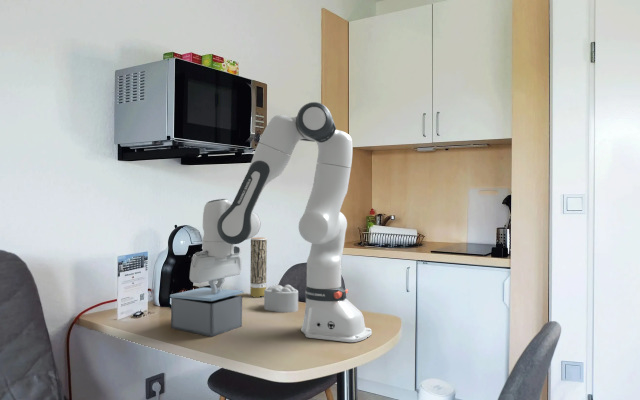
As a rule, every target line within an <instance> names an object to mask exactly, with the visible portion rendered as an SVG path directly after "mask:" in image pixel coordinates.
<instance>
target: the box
mask: <svg viewBox="0 0 640 400" xmlns="http://www.w3.org/2000/svg"><path fill="white" fill-rule="evenodd" d="M170 301H171V302H170V304H171V306H170V307H171V308H170V312H171V313H170V314H171V316H170V329H172V330H178V331H182V332H187V333H192V334H197V335H201V336H206V337H210V338H212V337H216V336H218V335H221V334H224V333H227V332H229V331H232V330H236V329H238V328H241V327H243V296H242V295H238V294H237V295H233V296H230V297H226V298H222V299H218V300H214V301H203V300H193V299H182V298H172V297H170Z"/></svg>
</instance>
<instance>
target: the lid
mask: <svg viewBox="0 0 640 400" xmlns="http://www.w3.org/2000/svg"><path fill="white" fill-rule="evenodd" d="M241 294H244V290H242V289H230V288H229V289H228V288H222V291H221V292H219V293H215V294H213V293H211V287H199V288H195V289H190V290H187V291H186V290H185V291H182V292H176V293H173V294H172V293H171V294H169V298H182V299H193V300H203V301H214V300H218V299H222V298H226V297H230V296H233V295H237V296H238V295H241Z"/></svg>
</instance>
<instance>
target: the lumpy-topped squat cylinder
mask: <svg viewBox="0 0 640 400" xmlns="http://www.w3.org/2000/svg"><path fill="white" fill-rule="evenodd" d="M263 301H264V302H263V308H264V310H266V311H268V312H269V311H270V312H276V313H292V312H293V313H294V312H297V311H299V290H298V289H296V288H295V287H293V286H292V285H290V284H285V285H284V286H282V285H280V284H275V285H271V286H268V287H267V288H266V289H265V290H264V298H263Z"/></svg>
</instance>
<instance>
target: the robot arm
mask: <svg viewBox="0 0 640 400" xmlns="http://www.w3.org/2000/svg"><path fill="white" fill-rule="evenodd" d="M299 141H305V142H311V143H312V142H314V143H316V145H317V149H318V153H317V158H316V159H317V160H316V166H315V172H314V177H313V183H312V188H311V191H310V195H309V197H308V199H307V203H306V205H305V206H306V207H305V210H304V212H303V214H302V216H301V217H300V220H299V222H298V232H299V235H300V236H301V238H302V239H303V240H304V241H306V242H308V243H310V245H311V246H310V250H309V255H308V258H307V260H306V285H305V287H304V288H305V290H304V299H305V308H304V309H305V310H304V315H303V316H304V317H303V321H302V325H301V328H300V331H301V332H302V333H303V334H304V335H305V337H306V338H310V339H319V340H327V341H337V342H343V343H356V342H360V341H364V340H366V339H367V337H368V338H369V337H370V336H371V335H372V334H373V331H372V329H371V328H370V327H366V324H365V318H364V315H363V312H362V311H361V310H359V309H358V308H357V307H356V306H355V305H354V304H353V303H352V302H350V300H349V299H347V294H348V293H349V292H348V291H349V289H344V288H343V285H342V261H343V252H344V247H345V239H346V232H347V229H348V220H347V218H346V216H345V214H344V213H343V212H341V209H342V206H343V203H344V200H345V198H346V196H347V193H348V190H349V182H350V176H351V170H352V162H353V150H354V149H353V148H354V147H353V138H352V137H351V135H349V134H348V133H347V132H345V131H343V130H341V129H340V130H339V129H337V126H336V124H335V121H334V118H333V115H332V113H331V111H330V109H329V108H328V107H327V106H326V105H325V104H323V103H321V102H316V101H313V102H308V103H306V104H304V105H302V107H300V109H299V110H298V113H297V115H296V116H293V117H291V116H288V115H285V114H277V115H274V116H273V117H271V118H270V121H269V122H268V123H267V125H266V126H265V129H264V130H263V133H262V134H261V136H260V138H259V141H258V143H257V145H256V148H255V151H254V154H253V156H252V159H251V161H250V164H249V166H248V170H247V173H246V174H245V175H244V179H243V181H242V183H241V185H240V186H239V189H238V190H237V193H236V195H235V197H234V199H233V201H232V202H231V200H229V199H227V198H219V199H213V200H210V201H207V202H206V203H205V204H204V208H203V212H202V230H203V237H202V251H197V252H195V253H194V254H193V256H192V257H191V263H190V269H189V280H190V282H192V283H193V284H194V283H195V284H199V283H200V284H201V283H205V282H208V284H209V286H210V287H209V288H211V293H213V294H215V293H219V292H221V291H222V289H223V288H222V287H223V285H224V282H225V278H229V277H234V276H238V275H241V272H242V256H241V253H242V247H241V246H238V245H239V244H241V243H242V242H244V241H246V240H249V239H250V240H251V238H254V237H255V236H256V235H257V234H258V233H259V231H260V229H261V220H260V217H259V216H258V213H256V212H254V209H255V207H256V205H257V202H258V201H259V198H260V196H261V194H262V192H263V190H264V189H265V187H266V186H267V185H268V184H270V182H272V181H273V180H274V179H276V178H277V177H279V176H280V175H282V173H283V172H284V170H285V169H286V167H287V165H288V163H289V161H290V159H291V156H292V154H293V152H294V150H295V148H296V146H297V144H298V143H299Z"/></svg>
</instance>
